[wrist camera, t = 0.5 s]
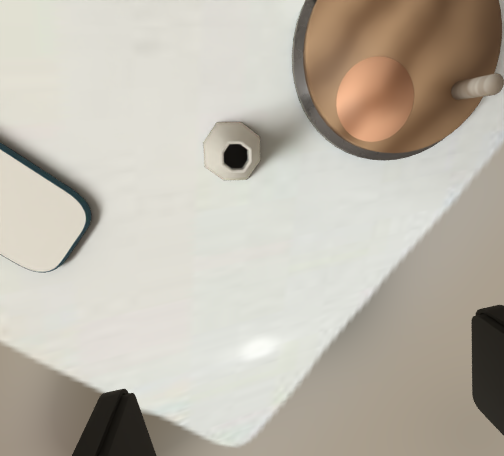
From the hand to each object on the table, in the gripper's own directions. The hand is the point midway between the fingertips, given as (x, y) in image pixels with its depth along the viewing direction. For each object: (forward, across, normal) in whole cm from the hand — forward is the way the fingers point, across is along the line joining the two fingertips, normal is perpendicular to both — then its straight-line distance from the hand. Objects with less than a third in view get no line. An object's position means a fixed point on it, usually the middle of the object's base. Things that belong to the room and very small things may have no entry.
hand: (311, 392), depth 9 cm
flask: (+35, 0, -5) cm, 35 cm away
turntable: (+33, -21, -12) cm, 41 cm away
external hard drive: (+35, +29, -7) cm, 46 cm away
